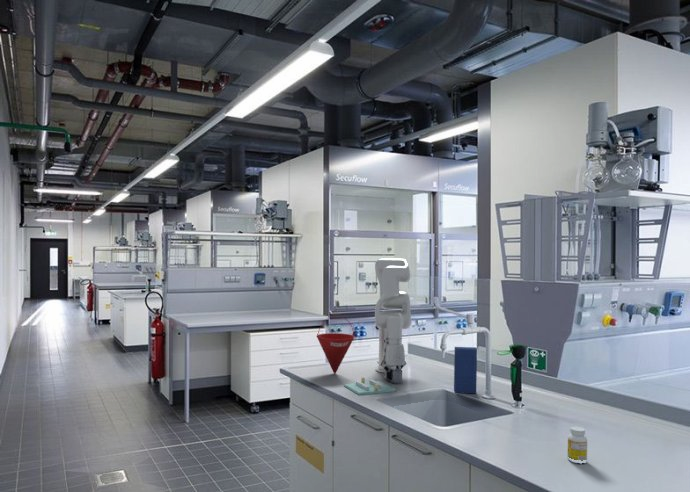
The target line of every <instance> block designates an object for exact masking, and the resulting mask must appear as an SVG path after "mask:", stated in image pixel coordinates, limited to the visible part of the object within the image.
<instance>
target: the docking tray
mask: <svg viewBox="0 0 690 492" xmlns="http://www.w3.org/2000/svg"><path fill="white" fill-rule="evenodd" d="M365 379H366V378H365V377H364V376H362V377H361V379H360V381H359V380H356V381H355V382H351V383H344V384H343V387H344V388H347V390H350V391H352V392H354V393H355V394H357V395H359V396H363V395H373V394H382V393H392V392H393V393H394V392H396V388H394V387H392V386H390V385H388V384H386V383H384V382H382V381H379V380H374V379H369V381H366V380H365Z"/></svg>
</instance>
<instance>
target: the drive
mask: <svg viewBox="0 0 690 492" xmlns="http://www.w3.org/2000/svg"><path fill="white" fill-rule="evenodd" d="M390 372H391V380H388V379H387V378H386V370H385V373H384V380H387V381H388V382H390V383H393V384H397V385H398V384H402V383H403V369H401V370H400V369H398V368H396V367H394V366H391V370H390Z"/></svg>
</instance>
